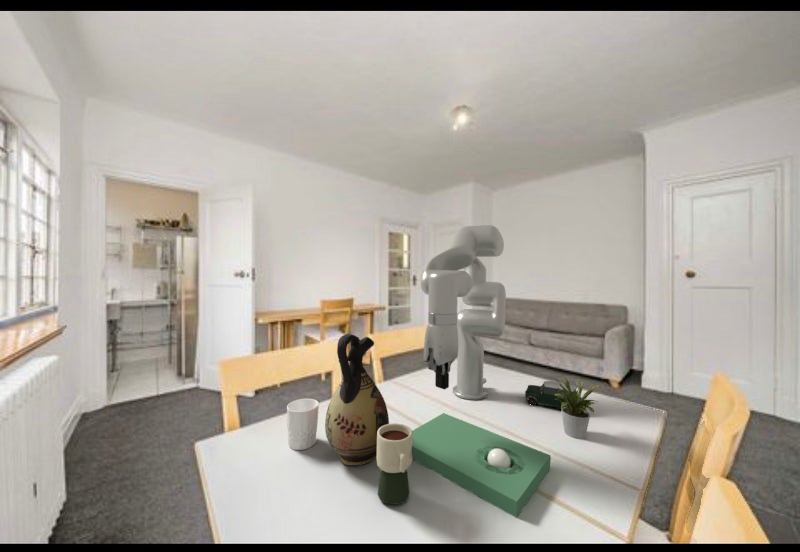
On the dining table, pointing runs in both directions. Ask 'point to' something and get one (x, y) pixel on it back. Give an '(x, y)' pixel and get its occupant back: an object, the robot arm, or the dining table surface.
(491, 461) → the golf ball
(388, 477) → the character mug
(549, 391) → the miniature car
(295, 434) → the white cup
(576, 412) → the house plant
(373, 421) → the ceramic jug
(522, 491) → the board
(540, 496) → the dining table surface
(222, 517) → the dining table surface
